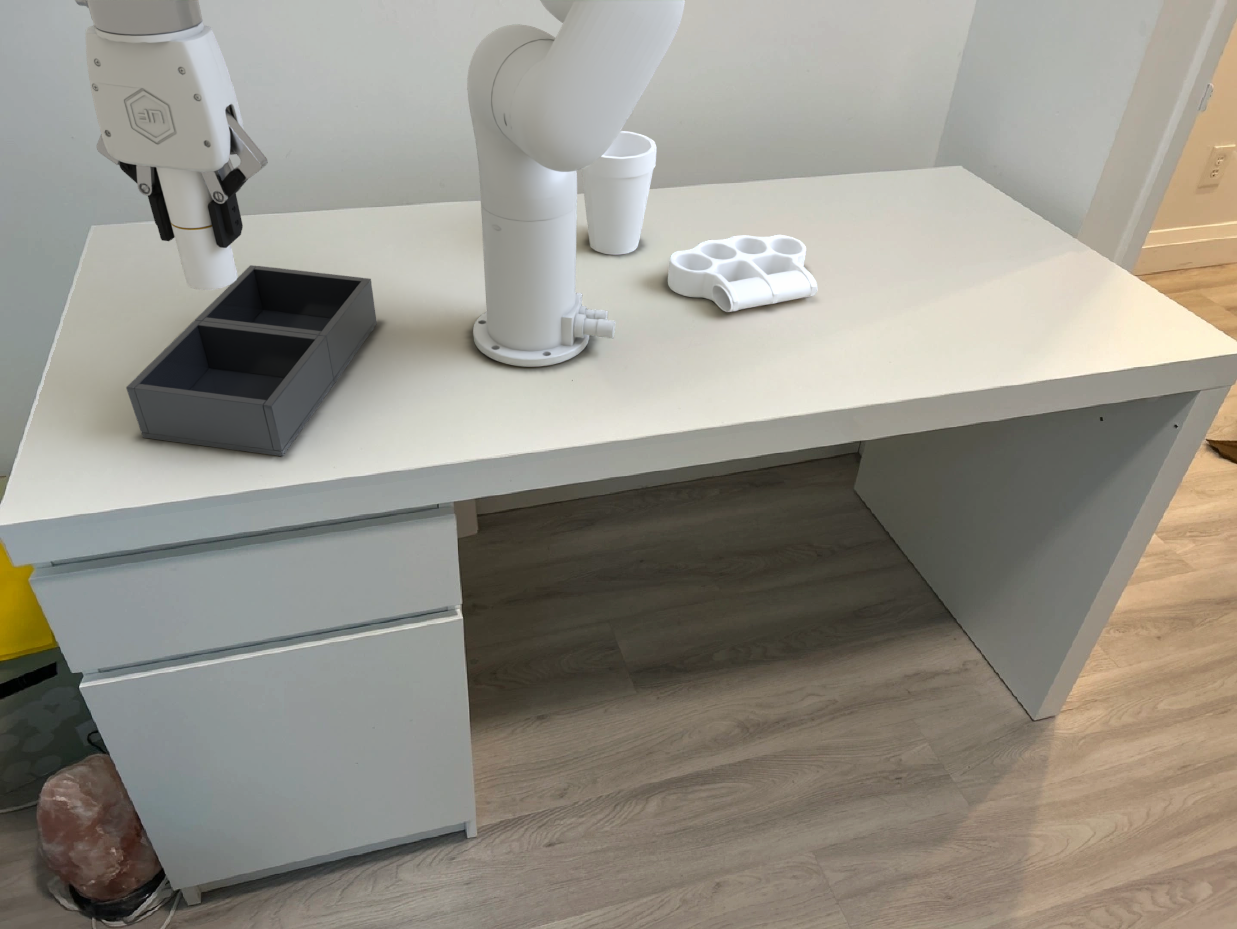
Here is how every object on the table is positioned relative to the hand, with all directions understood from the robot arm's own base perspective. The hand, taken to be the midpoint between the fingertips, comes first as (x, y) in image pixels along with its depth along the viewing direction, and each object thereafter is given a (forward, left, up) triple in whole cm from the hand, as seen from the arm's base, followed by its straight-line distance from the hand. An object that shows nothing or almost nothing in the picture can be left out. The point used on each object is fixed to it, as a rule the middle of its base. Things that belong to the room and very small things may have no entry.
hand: (201, 235), depth 82 cm
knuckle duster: (-46, -36, -18) cm, 61 cm away
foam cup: (-29, -43, -18) cm, 55 cm away
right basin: (0, -11, -18) cm, 21 cm away
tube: (0, 0, -4) cm, 4 cm away
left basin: (0, +1, -18) cm, 18 cm away
